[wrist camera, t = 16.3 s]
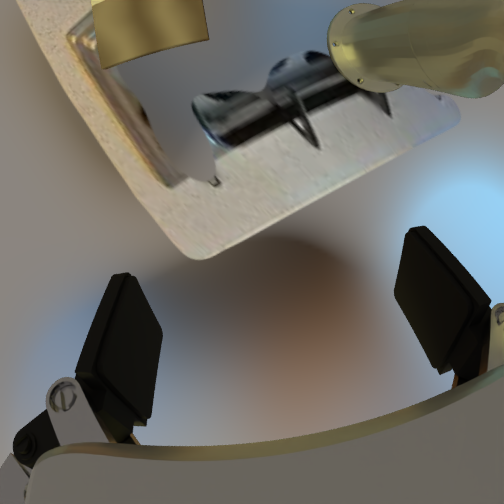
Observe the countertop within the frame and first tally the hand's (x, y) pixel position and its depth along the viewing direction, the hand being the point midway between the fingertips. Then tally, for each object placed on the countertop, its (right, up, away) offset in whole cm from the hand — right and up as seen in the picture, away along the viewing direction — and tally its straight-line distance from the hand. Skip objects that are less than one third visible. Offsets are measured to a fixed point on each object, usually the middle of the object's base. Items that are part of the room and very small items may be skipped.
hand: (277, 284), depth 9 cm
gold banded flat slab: (-14, +32, +11) cm, 37 cm away
